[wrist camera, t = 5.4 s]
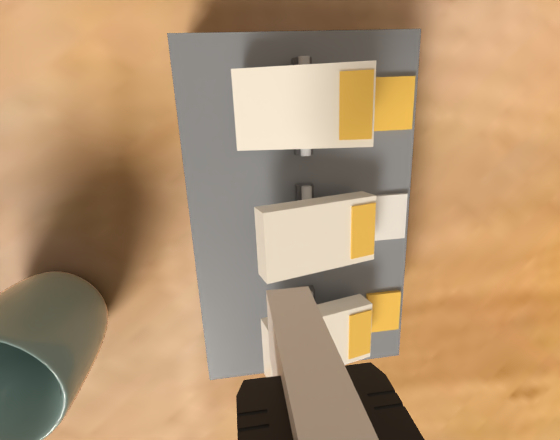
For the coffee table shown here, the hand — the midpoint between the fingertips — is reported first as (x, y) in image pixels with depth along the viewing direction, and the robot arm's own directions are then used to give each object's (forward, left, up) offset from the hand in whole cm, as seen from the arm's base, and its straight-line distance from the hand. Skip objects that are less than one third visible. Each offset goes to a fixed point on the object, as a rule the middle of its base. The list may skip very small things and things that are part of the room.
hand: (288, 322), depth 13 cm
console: (+3, 0, -16) cm, 17 cm away
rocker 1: (+3, +7, -9) cm, 12 cm away
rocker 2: (+3, 0, -9) cm, 10 cm away
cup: (-15, -7, -17) cm, 24 cm away
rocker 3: (+3, -7, -9) cm, 12 cm away
